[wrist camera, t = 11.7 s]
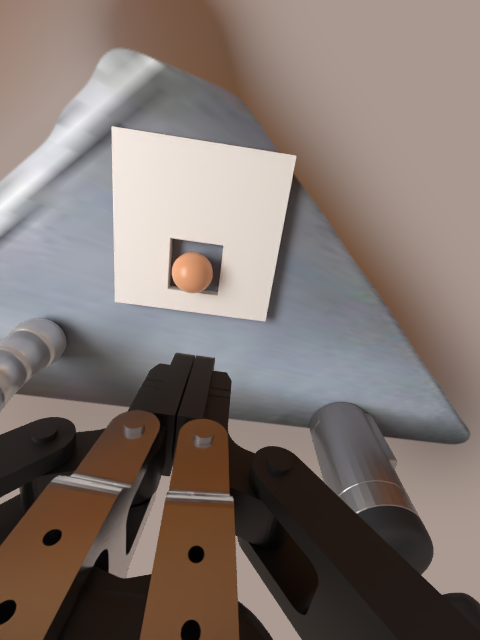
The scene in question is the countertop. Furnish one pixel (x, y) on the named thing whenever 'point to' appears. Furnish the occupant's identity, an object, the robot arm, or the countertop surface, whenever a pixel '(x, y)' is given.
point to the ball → (192, 272)
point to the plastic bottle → (28, 354)
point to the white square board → (197, 219)
